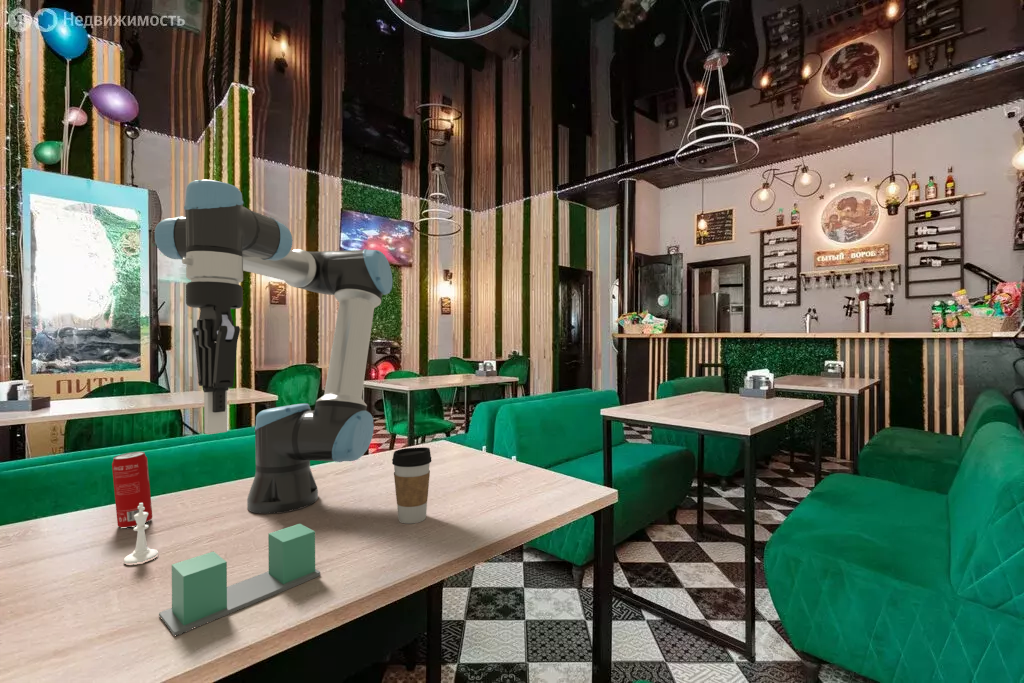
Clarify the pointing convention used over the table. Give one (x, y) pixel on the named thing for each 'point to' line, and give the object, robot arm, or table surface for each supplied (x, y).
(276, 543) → the stand
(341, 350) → the robot arm
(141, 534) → the chess piece
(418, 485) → the coffee cup
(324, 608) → the table surface
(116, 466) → the beverage can
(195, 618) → the green block
